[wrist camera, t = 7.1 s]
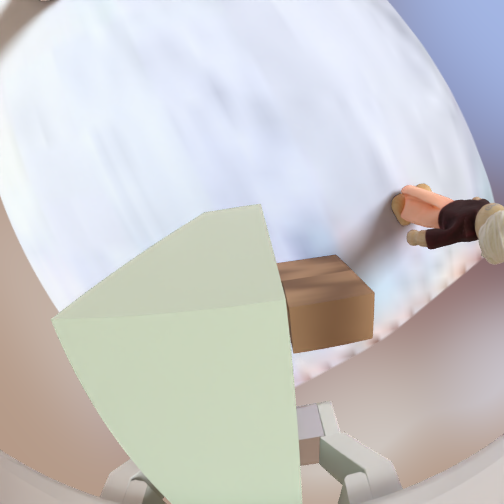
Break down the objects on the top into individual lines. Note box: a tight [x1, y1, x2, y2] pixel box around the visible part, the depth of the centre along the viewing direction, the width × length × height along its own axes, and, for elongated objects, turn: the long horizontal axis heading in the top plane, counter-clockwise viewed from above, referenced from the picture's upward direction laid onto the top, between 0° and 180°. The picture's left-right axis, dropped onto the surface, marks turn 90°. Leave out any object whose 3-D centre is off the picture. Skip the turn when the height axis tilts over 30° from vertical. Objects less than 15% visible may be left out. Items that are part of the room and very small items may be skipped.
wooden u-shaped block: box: [276, 255, 375, 353], centre depth 18 cm, size 14×3×8 cm, turn 98°
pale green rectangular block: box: [51, 204, 302, 504], centre depth 10 cm, size 14×3×12 cm, turn 8°
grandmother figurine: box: [391, 184, 504, 264], centre depth 14 cm, size 8×4×13 cm, turn 125°
